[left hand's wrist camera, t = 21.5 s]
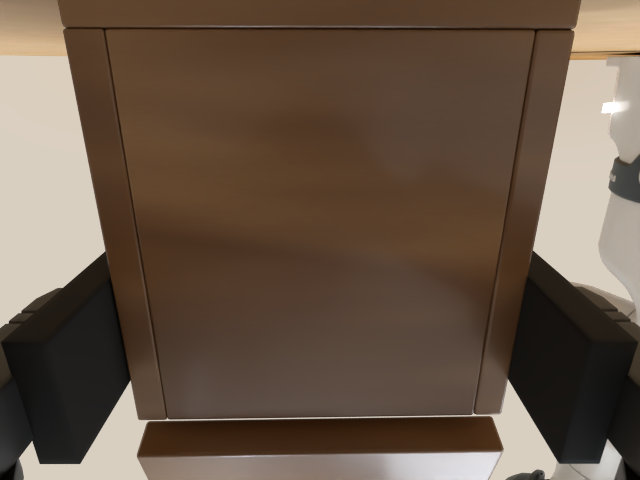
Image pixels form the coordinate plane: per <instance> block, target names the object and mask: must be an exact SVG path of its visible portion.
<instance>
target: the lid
mask: <svg viewBox="0 0 640 480" xmlns="http://www.w3.org/2000/svg"><path fill="white" fill-rule="evenodd" d="M502 453H503V446H502V443H501V440H500V437H499V435H498V432H497V429H496V426H495V423H494V421H493V418H492V417H490V416H471V417H404V418H336V419H270V420H203V421H149V422H148V423H147V424H146V427H145V431H144V434H143V437H142V440H141V443H140V446H139V449H138V453H137V458H138V460H139V462H140V464H141V466H142V468H143V470H144V472H145V474H146V476H147V478H148V480H489V478H490V476H491V474H492V472H493V470H494V468H495V466H496V464H497V463H498V461H499V459H500V457H501V455H502Z"/></svg>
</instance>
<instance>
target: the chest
mask: <svg viewBox="0 0 640 480" xmlns="http://www.w3.org/2000/svg"><path fill="white" fill-rule="evenodd" d="M580 4H581V0H58V5H59V10H60V15H61V20H62V24H63V26H64V27H66V29H64V30H63V33H64V38H65V44H66V49H67V54H68V59H69V64H70V69H71V74H72V80H73V85H74V90H75V95H76V100H77V105H78V111H79V116H80V121H81V126H82V131H83V136H84V142H85V147H86V152H87V157H88V162H89V167H90V173H91V178H92V183H93V188H94V193H95V198H96V204H97V209H98V214H99V219H100V224H101V229H102V234H103V240H104V245H105V250H106V255H107V260H108V266H109V271H110V276H111V281H112V286H113V291H114V297H115V302H116V307H117V312H118V317H119V322H120V328H121V333H122V338H123V343H124V348H125V353H126V359H127V364H128V369H129V374H130V379H131V384H132V389H133V395H134V400H135V405H136V410H137V415H138V419H139V420H165V419H167V417H168V419H229V418H296V417H365V416H433V415H472V414H473V413H474V414H500V413H501V412H502V407H503V402H504V396H505V391H506V386H507V381H508V375H509V369H510V364H511V359H512V354H513V349H514V343H515V338H516V333H517V328H518V323H519V317H520V312H521V307H522V302H523V297H524V291H525V286H526V281H527V276H528V272H529V267H530V262H531V257H532V251H533V246H534V241H535V236H536V231H537V225H538V220H539V215H540V210H541V205H542V199H543V194H544V189H545V184H546V179H547V174H548V169H549V163H550V158H551V153H552V148H553V142H554V137H555V132H556V127H557V122H558V117H559V111H560V106H561V101H562V96H563V90H564V86H565V80H566V75H567V70H568V65H569V60H570V55H571V49H572V44H573V39H574V31H572V30H571V29H573V28H575V26H576V24H577V19H578V14H579V9H580Z"/></svg>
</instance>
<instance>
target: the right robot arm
mask: <svg viewBox="0 0 640 480" xmlns="http://www.w3.org/2000/svg"><path fill="white" fill-rule="evenodd" d="M606 65H607V66H618V72H617V78H616V84H615V90H614V96H613V102H612V103H604V106H603V110H602V113H608V112H611V114H610V120H609V127H608V134H609V135H610V137H611V138H612V139H613V140H614V142H615V143H616V145H617V148H618V152H619V157H617V158H615V160H614V164H613V168H612V170H611V172H610V177H609V178H610V182H609V189H610V190H611V191H612V192H611V196H610V200H609V204H608V207H607V211H606V215H605V219H604V223H603V227H602V231H601V235H600V239H599V243H598V244H599V252H600V256H601V259H602V261H603V263H604V265H605V266H606V267H607V269H608V270H609V271H610V272H611V273H612V274H613V275H614V276H615V277H616V278H617V279H618V280H619V281H620V282H621V283H622V284H623V285H624V286H625V287H626V289H627V290H628V292H629V294H630V296H631V298H632V300H633V302H631V301H629V300H626V299H623V298H621V297H618V296H616V295H613V294H611V293H608V292H605V291H603V290H600V289H598V288H595V287H592V286H588V285H584V284H578V283H574V282H570V283H571V284H572V285H573V286H574V287H584V288H586V289H588V290H590V291H592V292H594V293H596V294H598V295H600V296H602V297H604V298H605V299H606V300H607V301H609V302H610V303H611V304H612V305H614V306H615V307H616V308H617V309H618V312H622V313H623V314H625V315H626V316H627V317H628V318H630V319H631V322H635V323H636V324H637V325H638V326H639V327H640V56H625V57H607V63H606ZM620 460H621V455H620V454H619V453H618V452H617V450H616V449H615V448H614V446H613V445H612V444H611V442H610V441H609V440H608V439H607V442H606V445H605V448H604V451H603V454H602V458H601V461H600V464H559V463H558V461H557V464H556V469H555V472H554V474H553V476H552V477H551V479H544V478H545V474H544V471H542V470H535V471H534V472H533V473H520V474H516V475H513V476H511V477H508V478H507V479H506V480H614V478H615V475H616V472H617V469H618V466H619V463H620Z"/></svg>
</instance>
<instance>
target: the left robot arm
mask: <svg viewBox="0 0 640 480" xmlns="http://www.w3.org/2000/svg"><path fill="white" fill-rule="evenodd" d="M130 380H131V379H130V374H129V369H128V364H127V359H126V353H125V348H124V343H123V338H122V333H121V328H120V322H119V317H118V312H117V307H116V302H115V297H114V291H113V286H112V281H111V276H110V271H109V266H108V260H107V255H106V251H105V252H104V253H103V254H102V255H101V256H100V257H98V258H97V259H96V260H95V261H94V262H93V263H91V264H90V265H89V266H88V267H87V268H86V269H85V270H83V271H82V272H81V273H80V274H79V275H78V276H76V277H75V278H74V279H73V280H72V281H71V282H69V283H68V284H67V285H66V286H65V287H64V288H57V289H55V290H53V291H51V292H49V293H47V294H45V295H43V296H41V297H39V298H37V299H35V300H34V301H33V302H32V303H31V304H29V305H28V306H27V307H26V308H24V309H23V310H22V312H21V313H19V314H17V315H16V316H15V317H14V318H12V319H11V320H10V321H9V324H5V325H4V326H2V327H1V328H0V480H23V479H24V476H23V470H22V466H21V463H20V460H19V457H20V456H21V454H22V453H23V452H24V451H25V449H26V448H27V447H28V445H29V444H30V443H31V441H33V444H34V447H35V450H36V454H37V457H38V460H39V463H40V464H80V463H81V462H82V460H83V458H84V456H85V455H86V453H87V452H88V450H89V448H90V447H91V445H92V443H93V442H94V440H95V438H96V437H97V435H98V433H99V432H100V430H101V428H102V427H103V425H104V423H105V422H106V420H107V418H108V417H109V415H110V413H111V412H112V410H113V408H114V407H115V405H116V403H117V402H118V400H119V398H120V397H121V395H122V394H123V392H124V390H125V389H126V387H127V385H128V384H129V382H130ZM508 380H509V381H510V383H511V385H512V386H513V388H514V390H515V391H516V393H517V395H518V396H519V398H520V400H521V401H522V403H523V405H524V406H525V408H526V410H527V411H528V413H529V414H530V416H531V418H532V419H533V421H534V423H535V424H536V426H537V428H538V429H539V431H540V433H541V434H542V436H543V438H544V439H545V441H546V443H547V444H548V446H549V448H550V449H551V451H552V453H553V454H554V456H555V458H556V459H557V461H558V463H559V464H600V461H601V458H602V454H603V451H604V448H605V445H606V442H607V439H608V440H609V441H610V442H611V444H612V445H613V446H614V448H615V449H616V450H617V452H618V453H619V454H620V455H621V460H620V463H619V466H618V469H617V472H616V475H615V478H614V480H640V327H639V326H638V325H637V324H636V323H635V322H631V319H630V318H628V317H627V316H626V315H625V314H623V313H622V312H618V309H617V308H616V307H615V306H614V305H612V304H611V303H610V302H609V301H607V300H606V299H605V298H604V297H602V296H600V295H598V294H596V293H594V292H592V291H590V290H588V289H586V288H584V287H574V286H573V285H572V284H571V283H570V282H569V281H568V280H566V279H565V278H564V277H563V276H562V275H561V274H559V273H558V272H557V271H556V270H555V269H554V268H552V267H551V266H550V265H549V264H548V263H547V262H546V261H544V260H543V259H542V258H541V257H540V256H539V255H537V254H536V253H535V252H534V251H532V257H531V262H530V267H529V272H528V276H527V281H526V286H525V291H524V297H523V302H522V307H521V312H520V317H519V323H518V328H517V333H516V338H515V343H514V349H513V354H512V359H511V364H510V369H509V375H508Z"/></svg>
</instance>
